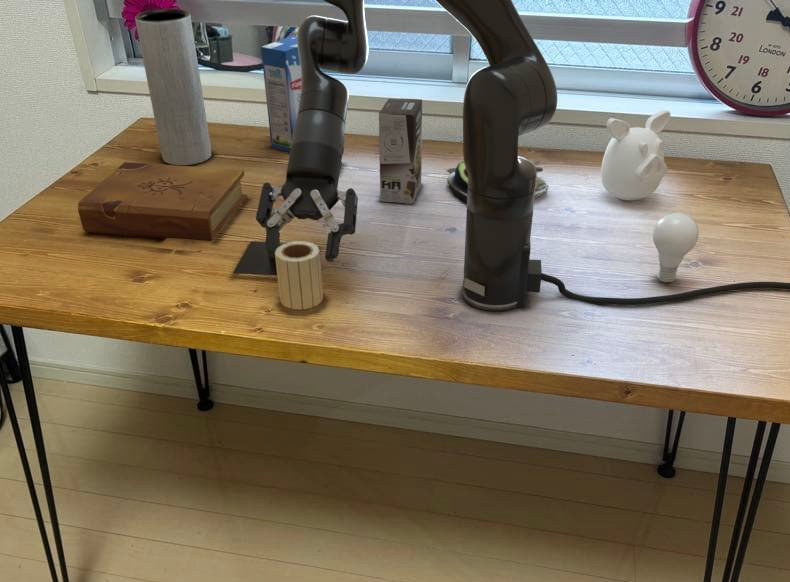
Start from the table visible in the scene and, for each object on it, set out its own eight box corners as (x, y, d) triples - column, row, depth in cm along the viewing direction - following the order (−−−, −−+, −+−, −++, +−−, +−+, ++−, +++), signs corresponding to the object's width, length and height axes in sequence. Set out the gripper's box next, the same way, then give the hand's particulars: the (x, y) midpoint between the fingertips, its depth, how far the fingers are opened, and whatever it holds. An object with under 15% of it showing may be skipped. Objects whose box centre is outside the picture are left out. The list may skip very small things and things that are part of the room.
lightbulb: (679, 295, 120) (695, 227, 114) (638, 284, 123) (651, 217, 116) (691, 277, 125) (708, 211, 118) (651, 267, 127) (665, 201, 121)
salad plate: (518, 163, 162) (520, 140, 159) (571, 195, 149) (574, 171, 147) (433, 180, 156) (433, 157, 153) (481, 216, 143) (482, 191, 140)
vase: (206, 166, 163) (183, 20, 146) (157, 166, 163) (128, 21, 146) (216, 148, 170) (195, 8, 154) (168, 148, 171) (142, 8, 154)
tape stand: (316, 248, 134) (312, 197, 128) (302, 281, 125) (297, 228, 120) (251, 245, 135) (244, 194, 129) (233, 277, 126) (225, 224, 121)
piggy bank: (636, 217, 142) (652, 132, 132) (583, 197, 149) (594, 115, 139) (677, 198, 148) (694, 115, 139) (624, 179, 155) (637, 99, 146)
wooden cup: (326, 293, 122) (322, 242, 117) (318, 314, 117) (314, 262, 112) (286, 291, 123) (280, 240, 118) (276, 312, 118) (270, 260, 113)
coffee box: (413, 204, 147) (414, 115, 137) (379, 202, 148) (377, 112, 138) (422, 184, 154) (423, 98, 144) (389, 182, 155) (388, 96, 145)
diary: (84, 235, 138) (76, 203, 135) (131, 191, 153) (124, 162, 149) (212, 244, 135) (207, 212, 132) (247, 199, 150) (243, 168, 146)
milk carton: (294, 153, 168) (285, 51, 155) (271, 147, 170) (260, 46, 158) (323, 138, 174) (316, 39, 162) (300, 133, 177) (292, 35, 165)
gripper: (261, 136, 115) (244, 245, 113) (359, 141, 113) (342, 253, 111) (277, 159, 122) (261, 262, 121) (369, 164, 120) (354, 270, 118)
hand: (300, 258), depth 116 cm, fingers open, 8 cm apart
